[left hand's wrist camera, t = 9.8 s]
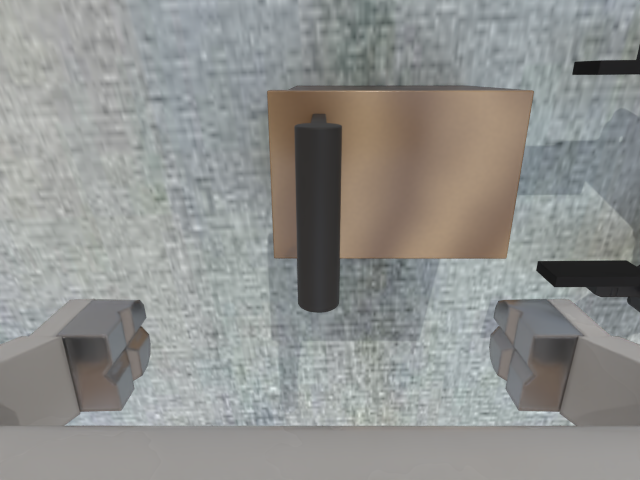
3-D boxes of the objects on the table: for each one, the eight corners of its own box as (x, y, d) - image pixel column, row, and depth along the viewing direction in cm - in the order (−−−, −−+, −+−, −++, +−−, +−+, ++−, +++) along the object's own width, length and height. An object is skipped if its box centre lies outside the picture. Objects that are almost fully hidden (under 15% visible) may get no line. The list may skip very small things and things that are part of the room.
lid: (275, 251, 27) (254, 333, 18) (269, 89, 23) (239, 98, 15) (499, 251, 27) (582, 334, 18) (524, 89, 23) (641, 98, 15)
